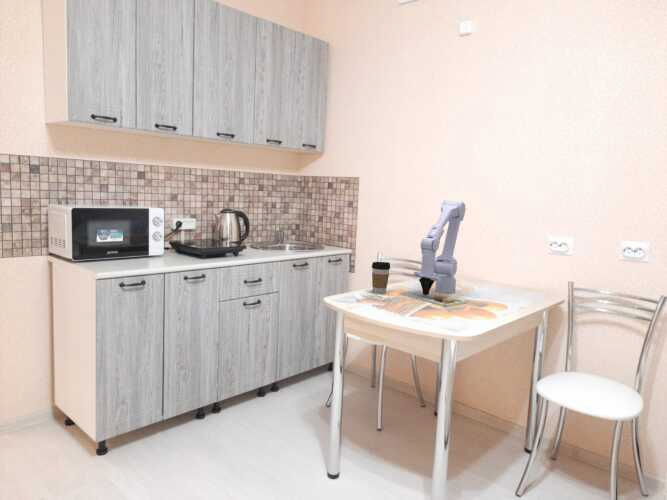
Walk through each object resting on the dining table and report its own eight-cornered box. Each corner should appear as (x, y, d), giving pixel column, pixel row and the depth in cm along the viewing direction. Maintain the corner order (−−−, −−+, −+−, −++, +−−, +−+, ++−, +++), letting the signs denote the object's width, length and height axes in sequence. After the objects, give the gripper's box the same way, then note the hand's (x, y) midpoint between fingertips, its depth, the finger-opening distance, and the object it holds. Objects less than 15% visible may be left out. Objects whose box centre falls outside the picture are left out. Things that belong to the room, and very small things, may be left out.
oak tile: (448, 303, 218) (448, 297, 218) (455, 305, 215) (456, 299, 215) (442, 304, 216) (442, 298, 215) (449, 306, 213) (450, 300, 212)
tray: (443, 300, 226) (444, 295, 226) (465, 306, 217) (466, 301, 217) (422, 303, 217) (423, 298, 217) (444, 309, 208) (445, 304, 208)
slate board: (418, 293, 238) (418, 290, 237) (443, 300, 226) (443, 297, 226) (397, 296, 229) (397, 293, 229) (422, 303, 217) (423, 300, 217)
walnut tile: (439, 301, 222) (439, 295, 221) (446, 303, 218) (447, 297, 218) (433, 302, 219) (433, 296, 219) (440, 304, 216) (441, 298, 216)
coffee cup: (385, 297, 224) (388, 264, 222) (367, 295, 227) (369, 262, 225) (390, 294, 232) (392, 262, 230) (372, 291, 235) (374, 260, 233)
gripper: (409, 262, 226) (407, 292, 228) (435, 268, 215) (432, 299, 217) (420, 261, 231) (418, 290, 233) (445, 266, 220) (443, 297, 221)
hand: (425, 294), depth 225 cm, fingers closed
